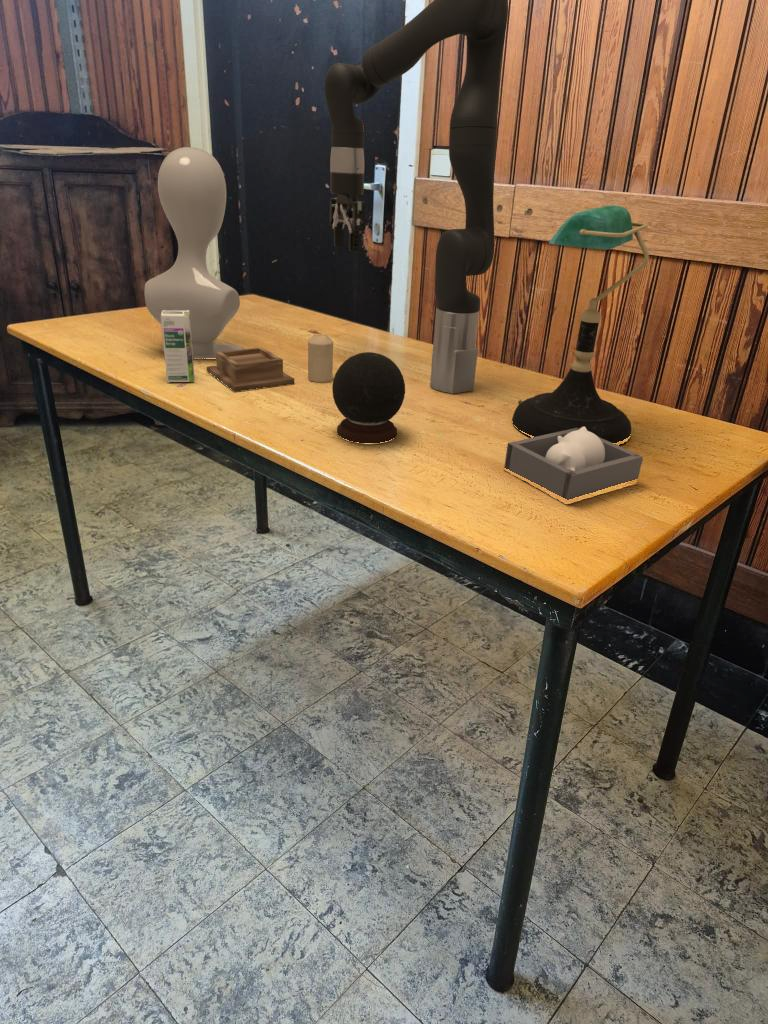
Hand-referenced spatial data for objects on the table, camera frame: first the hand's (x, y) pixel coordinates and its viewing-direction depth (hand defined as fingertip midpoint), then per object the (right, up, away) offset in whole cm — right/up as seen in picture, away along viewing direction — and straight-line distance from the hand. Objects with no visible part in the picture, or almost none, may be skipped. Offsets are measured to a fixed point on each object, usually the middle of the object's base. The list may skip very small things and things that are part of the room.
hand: (346, 248), depth 162 cm
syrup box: (-36, -32, -9) cm, 49 cm away
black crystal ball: (+6, -47, -32) cm, 57 cm away
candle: (-6, -31, -4) cm, 32 cm away
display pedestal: (-21, -31, -6) cm, 38 cm away
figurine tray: (+40, -55, -45) cm, 82 cm away
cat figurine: (+39, -55, -45) cm, 81 cm away
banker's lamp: (+46, -45, -24) cm, 68 cm away
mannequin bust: (-36, -21, +12) cm, 44 cm away
